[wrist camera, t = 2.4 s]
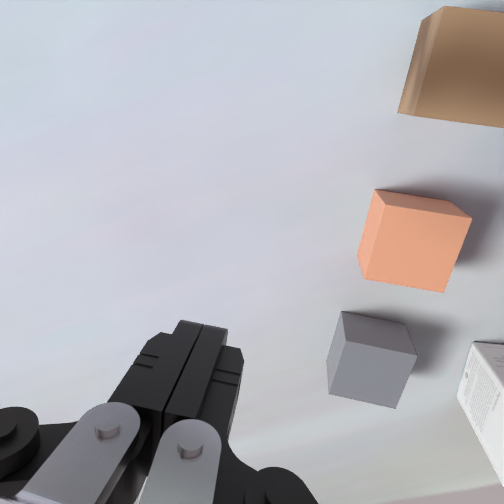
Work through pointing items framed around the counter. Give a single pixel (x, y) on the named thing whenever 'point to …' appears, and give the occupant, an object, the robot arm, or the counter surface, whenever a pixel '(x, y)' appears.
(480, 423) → the small box
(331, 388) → the grey block
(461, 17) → the walnut block
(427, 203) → the terracotta block
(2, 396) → the counter surface
